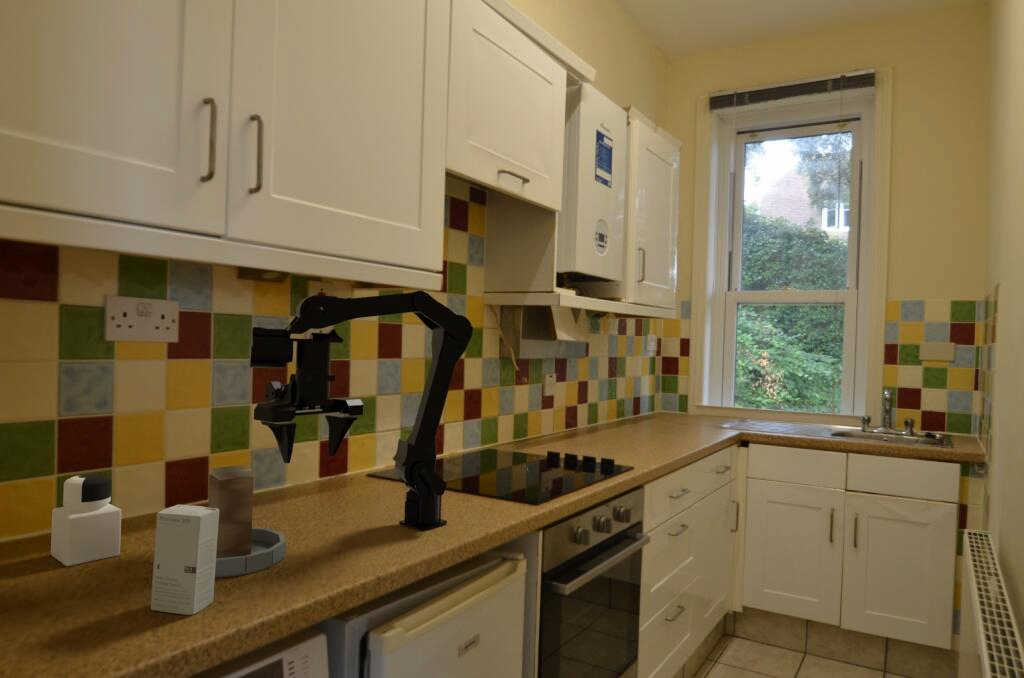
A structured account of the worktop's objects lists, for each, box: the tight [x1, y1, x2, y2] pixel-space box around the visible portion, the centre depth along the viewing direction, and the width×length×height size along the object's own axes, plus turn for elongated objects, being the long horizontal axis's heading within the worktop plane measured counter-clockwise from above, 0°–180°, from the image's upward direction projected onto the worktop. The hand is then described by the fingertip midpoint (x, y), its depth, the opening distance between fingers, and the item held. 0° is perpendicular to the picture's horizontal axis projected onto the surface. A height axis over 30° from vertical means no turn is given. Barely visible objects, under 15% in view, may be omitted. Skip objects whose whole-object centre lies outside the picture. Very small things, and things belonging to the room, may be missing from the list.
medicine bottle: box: [50, 473, 122, 567], centre depth 98 cm, size 7×7×12 cm
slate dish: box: [215, 526, 287, 579], centre depth 98 cm, size 16×16×2 cm
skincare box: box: [150, 504, 219, 616], centre depth 81 cm, size 6×4×12 cm
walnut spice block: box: [207, 464, 254, 559], centre depth 99 cm, size 5×5×13 cm
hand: (310, 459), depth 111 cm, fingers open, 9 cm apart
